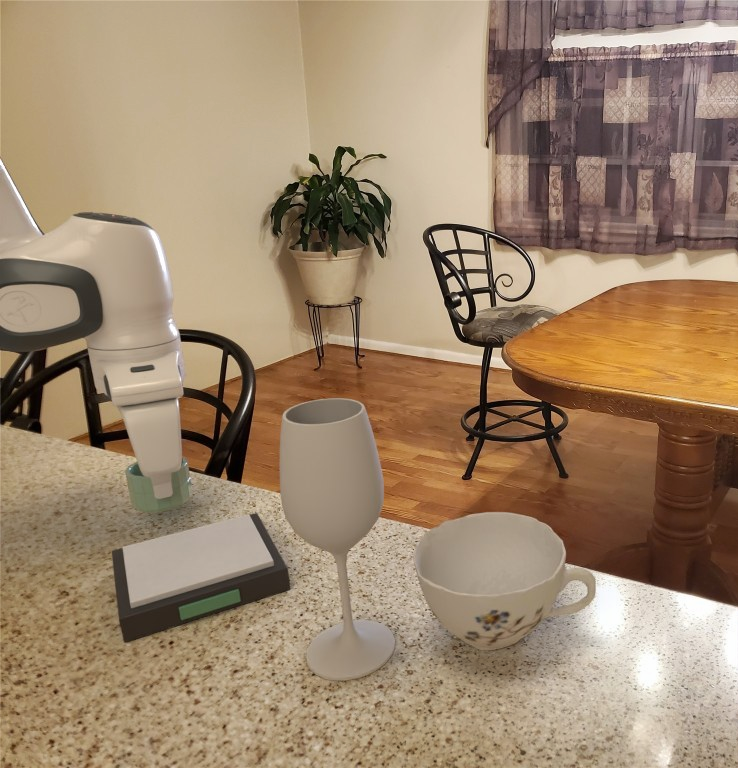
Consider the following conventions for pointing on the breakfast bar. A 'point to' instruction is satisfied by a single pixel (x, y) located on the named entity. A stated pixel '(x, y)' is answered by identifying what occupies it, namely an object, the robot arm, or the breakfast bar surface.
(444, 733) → the breakfast bar surface
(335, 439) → the wineglass
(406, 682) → the breakfast bar surface
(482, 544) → the teacup
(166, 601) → the scale
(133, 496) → the bowl
